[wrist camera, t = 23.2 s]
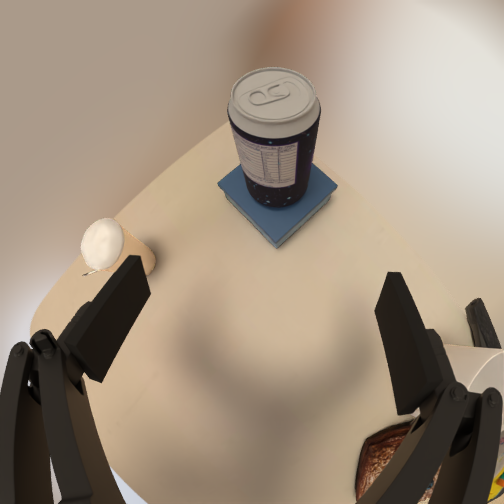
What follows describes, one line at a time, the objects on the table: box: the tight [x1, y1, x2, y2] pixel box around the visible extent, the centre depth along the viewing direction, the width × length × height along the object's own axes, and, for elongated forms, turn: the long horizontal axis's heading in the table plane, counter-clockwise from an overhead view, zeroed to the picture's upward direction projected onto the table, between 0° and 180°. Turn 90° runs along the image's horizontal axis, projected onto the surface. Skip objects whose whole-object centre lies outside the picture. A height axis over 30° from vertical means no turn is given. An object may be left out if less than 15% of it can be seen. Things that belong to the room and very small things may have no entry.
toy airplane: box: [488, 430, 504, 501], centre depth 14 cm, size 13×9×15 cm
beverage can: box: [227, 67, 321, 208], centre depth 19 cm, size 6×6×12 cm
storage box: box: [217, 163, 338, 248], centre depth 27 cm, size 8×8×4 cm
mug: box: [411, 344, 504, 432], centre depth 16 cm, size 8×12×12 cm
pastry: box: [355, 422, 442, 502], centre depth 17 cm, size 11×12×6 cm
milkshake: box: [81, 218, 156, 276], centre depth 24 cm, size 4×5×10 cm
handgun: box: [465, 298, 502, 349], centre depth 20 cm, size 2×18×12 cm
